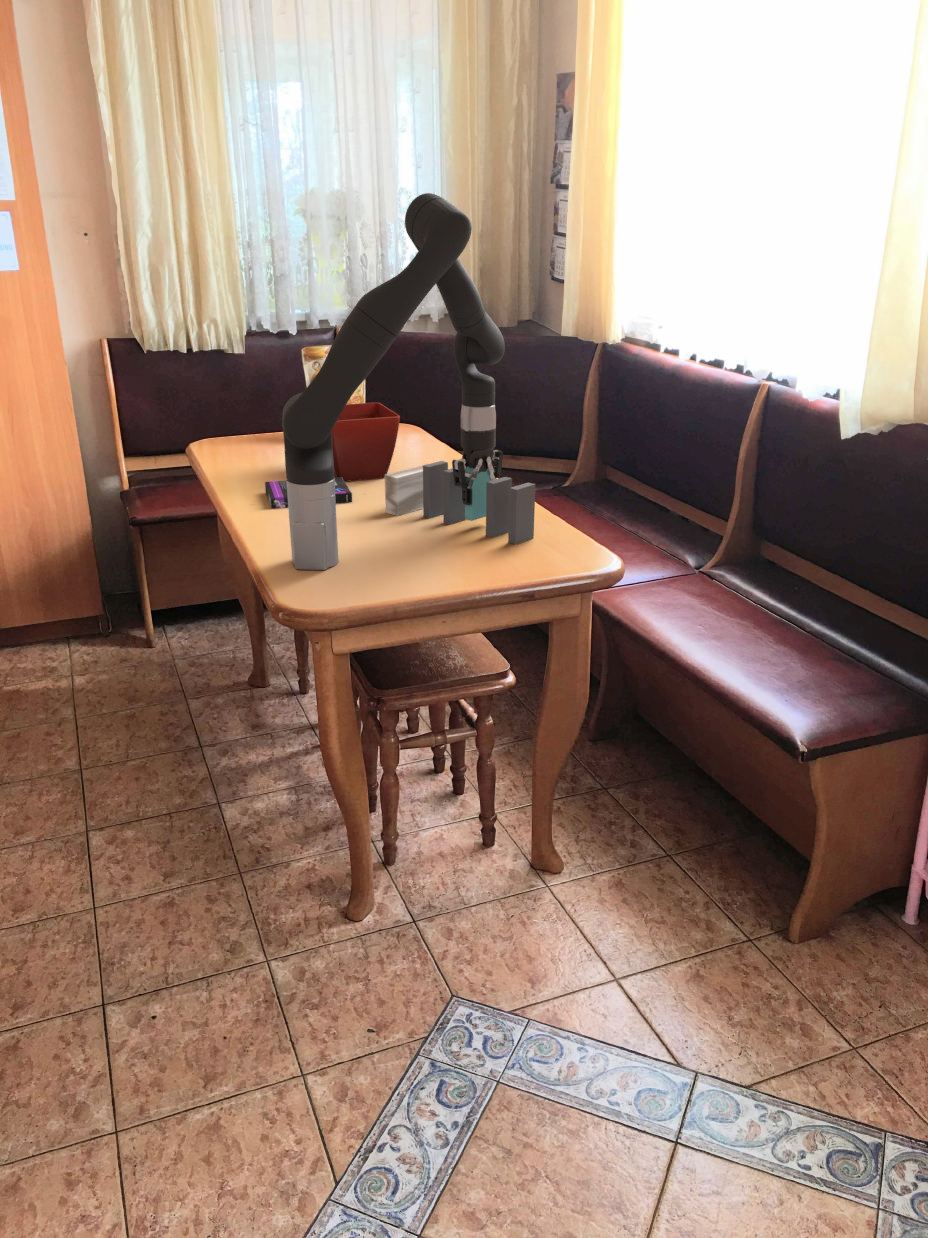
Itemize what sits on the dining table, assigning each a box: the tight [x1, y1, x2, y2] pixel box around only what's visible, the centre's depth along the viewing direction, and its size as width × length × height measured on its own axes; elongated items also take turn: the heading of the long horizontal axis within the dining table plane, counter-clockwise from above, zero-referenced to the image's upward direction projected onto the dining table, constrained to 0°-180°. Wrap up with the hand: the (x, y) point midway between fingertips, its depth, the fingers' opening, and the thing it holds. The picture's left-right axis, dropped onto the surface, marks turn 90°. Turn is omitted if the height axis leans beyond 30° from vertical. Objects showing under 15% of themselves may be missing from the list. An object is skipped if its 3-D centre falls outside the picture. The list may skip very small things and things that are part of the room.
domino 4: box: [485, 476, 513, 539], centre depth 209 cm, size 2×6×12 cm, turn 136°
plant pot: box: [332, 402, 401, 483], centre depth 252 cm, size 19×19×17 cm
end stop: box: [384, 463, 428, 517], centre depth 227 cm, size 4×14×9 cm, turn 136°
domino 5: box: [507, 482, 536, 546], centre depth 205 cm, size 2×6×12 cm, turn 136°
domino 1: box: [422, 460, 449, 519], centre depth 221 cm, size 2×6×12 cm, turn 136°
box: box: [264, 477, 353, 510], centre depth 236 cm, size 14×4×20 cm
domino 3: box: [465, 466, 491, 522], centre depth 212 cm, size 2×6×12 cm, turn 136°
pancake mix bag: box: [300, 344, 366, 404], centre depth 285 cm, size 7×19×28 cm, turn 111°
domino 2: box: [443, 467, 465, 525], centre depth 217 cm, size 2×6×12 cm, turn 136°
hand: (477, 501), depth 213 cm, fingers closed on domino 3, 6 cm apart
